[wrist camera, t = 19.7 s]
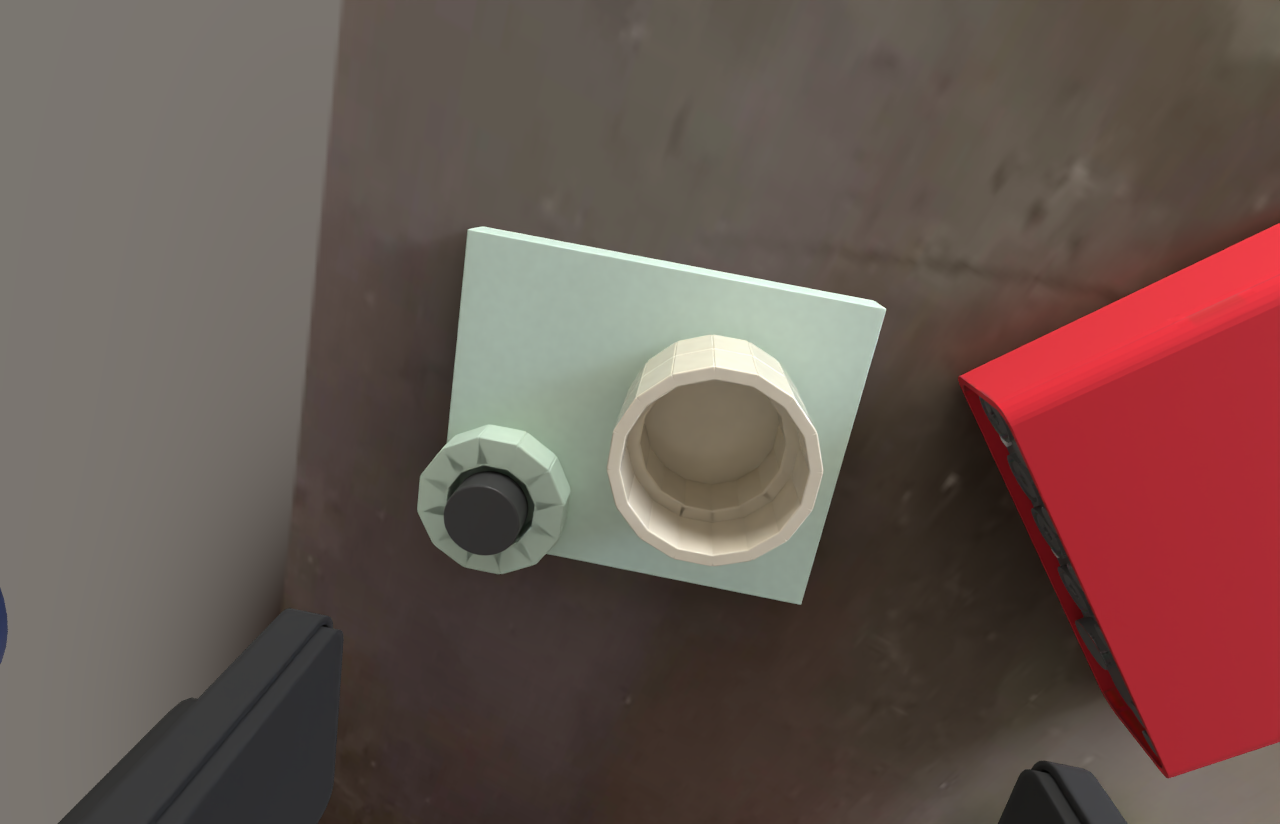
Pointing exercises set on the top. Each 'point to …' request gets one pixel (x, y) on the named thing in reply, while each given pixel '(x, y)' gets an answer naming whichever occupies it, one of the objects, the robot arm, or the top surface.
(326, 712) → the robot arm
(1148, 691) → the red device housing
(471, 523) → the button
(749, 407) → the cup
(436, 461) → the scale
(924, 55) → the top surface
